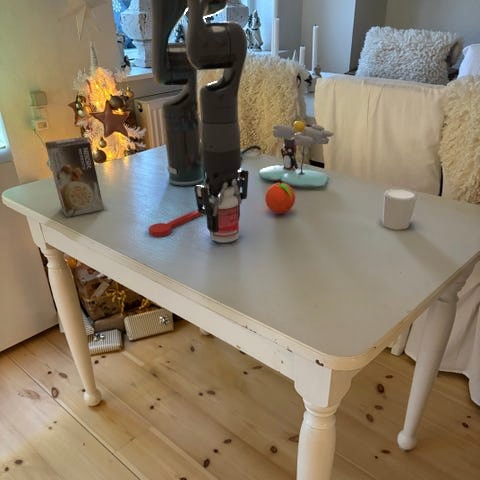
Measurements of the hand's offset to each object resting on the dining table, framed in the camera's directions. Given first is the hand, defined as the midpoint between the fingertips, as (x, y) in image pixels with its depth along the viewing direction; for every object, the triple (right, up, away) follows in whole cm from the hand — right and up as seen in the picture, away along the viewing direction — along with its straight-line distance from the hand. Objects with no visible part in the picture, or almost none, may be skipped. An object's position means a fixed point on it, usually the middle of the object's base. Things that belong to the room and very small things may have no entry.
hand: (224, 225), depth 103 cm
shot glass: (+38, +1, +6) cm, 38 cm away
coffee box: (-35, +7, +16) cm, 39 cm away
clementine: (+13, +5, +12) cm, 19 cm away
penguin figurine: (+18, +18, +30) cm, 39 cm away
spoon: (-11, +2, +8) cm, 14 cm away
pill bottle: (0, -2, +2) cm, 3 cm away
